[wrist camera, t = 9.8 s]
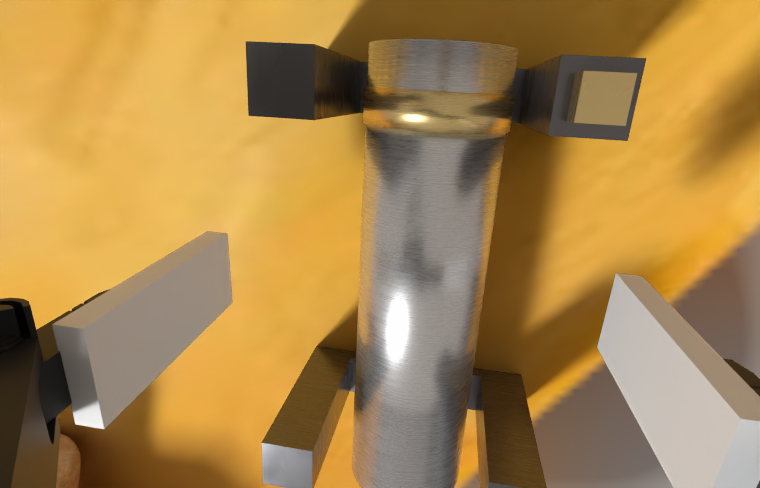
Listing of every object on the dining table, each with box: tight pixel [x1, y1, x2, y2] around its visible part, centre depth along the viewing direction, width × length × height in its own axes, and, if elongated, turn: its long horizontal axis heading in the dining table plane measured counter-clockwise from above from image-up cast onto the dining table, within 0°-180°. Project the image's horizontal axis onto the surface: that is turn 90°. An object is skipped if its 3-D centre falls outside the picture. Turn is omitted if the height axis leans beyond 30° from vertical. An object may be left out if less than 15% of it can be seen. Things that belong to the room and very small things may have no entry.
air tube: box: [352, 39, 518, 488], centre depth 18 cm, size 18×5×5 cm, turn 177°
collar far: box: [262, 346, 547, 488], centre depth 20 cm, size 2×10×7 cm, turn 87°
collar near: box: [246, 41, 646, 141], centre depth 15 cm, size 2×10×8 cm, turn 87°
